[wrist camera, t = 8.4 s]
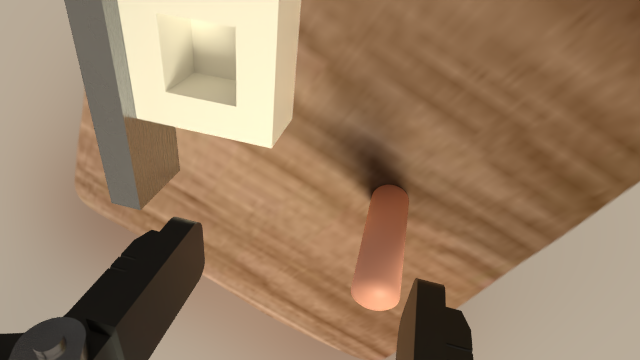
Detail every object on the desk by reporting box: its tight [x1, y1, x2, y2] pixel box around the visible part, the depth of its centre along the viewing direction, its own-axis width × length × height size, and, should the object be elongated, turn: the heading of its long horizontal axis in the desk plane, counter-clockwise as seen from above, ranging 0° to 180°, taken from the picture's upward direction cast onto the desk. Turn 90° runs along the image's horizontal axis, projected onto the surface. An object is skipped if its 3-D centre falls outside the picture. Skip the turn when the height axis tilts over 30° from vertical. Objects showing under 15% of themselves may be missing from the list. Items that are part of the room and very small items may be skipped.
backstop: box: [64, 0, 180, 210], centre depth 28 cm, size 22×2×6 cm, turn 173°
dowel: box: [351, 185, 409, 311], centre depth 29 cm, size 3×3×10 cm
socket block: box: [117, 0, 301, 148], centre depth 27 cm, size 10×10×5 cm
